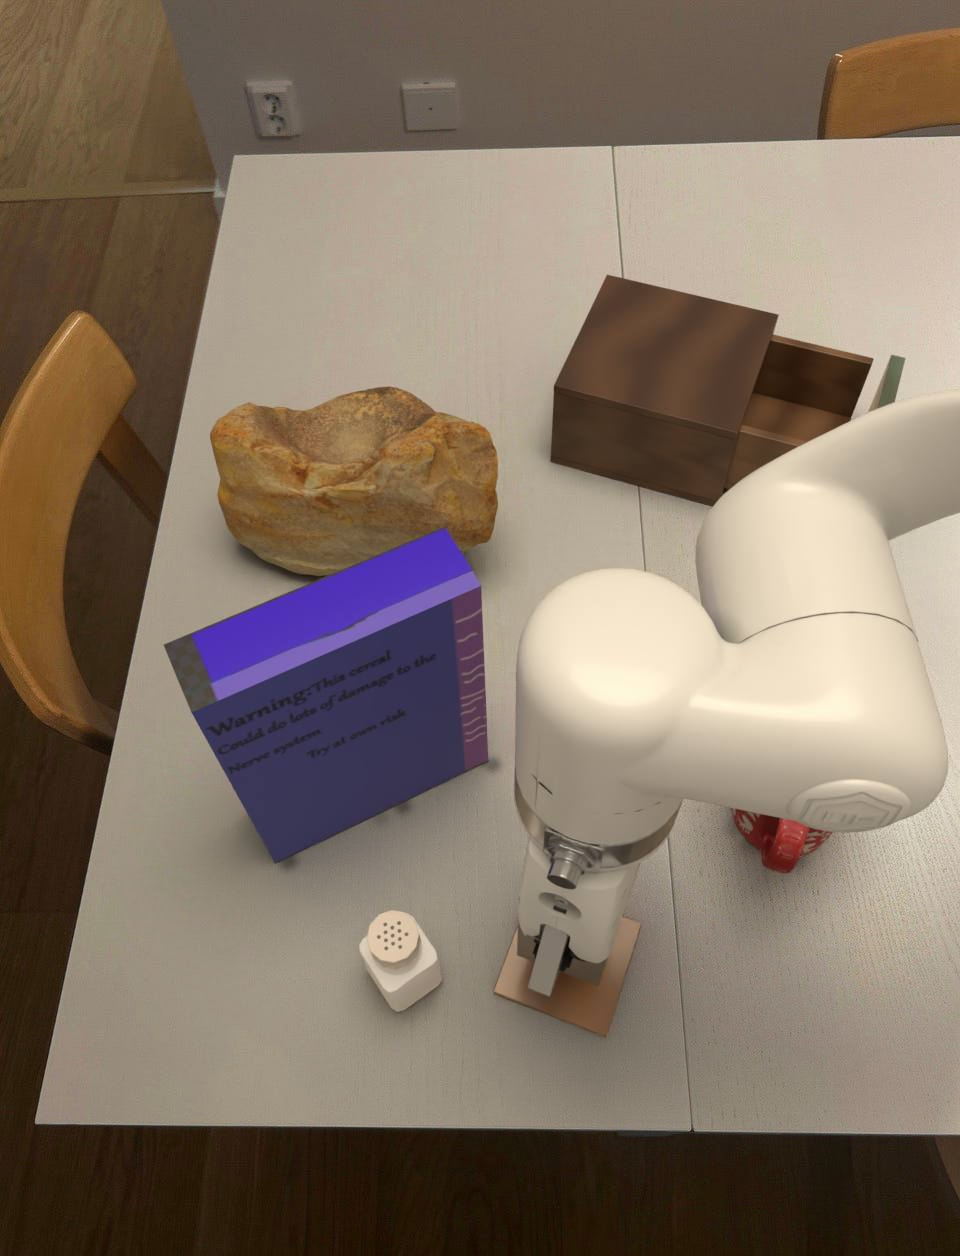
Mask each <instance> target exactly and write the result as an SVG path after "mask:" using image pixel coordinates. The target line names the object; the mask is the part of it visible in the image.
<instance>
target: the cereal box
mask: <svg viewBox="0 0 960 1256" xmlns="http://www.w3.org/2000/svg"><path fill="white" fill-rule="evenodd" d="M483 618H484V617H483V596H482V585H481V583H480V581H479V580H478V578H477V576H476V575H475V572H474V571H473V569H472V568H471V566H470V564H469V562H468V560H467V559H466V557H465V556H464V554H463V552H461V551H460V550H459V548H458V546H457V545H456V543H455V542H454V540H453V539H452V537H451V536H450V534H449V533H448V531H447V530H446V528H445V527H442V528H440V529H438V530H435V531H433V532H430V533H428V534H426V535H423V536H421V537H419V538H416V539H414V540H411V541H409V542H407V543H404V544H402V545H400V546H397V547H395V548H392V549H390V550H388V551H385V552H383V553H381V554H378V555H376V556H373V557H371V558H369V559H366V560H364V561H361V562H359V563H357V564H354V565H352V566H350V567H347V568H345V569H342V570H340V571H338V572H335V573H333V574H331V575H325V576H322V577H321V578H319V579H316V580H314V581H312V582H309V583H306V584H305V585H302V586H299V587H297V588H294V589H293V590H289V591H288V592H285V593H282V594H281V595H278V596H276V597H274V598H271V599H268V600H267V601H264V602H262V603H259V604H257V605H254V606H252V607H250V608H247V609H245V610H243V611H240V612H238V613H235V614H233V615H230V616H228V617H226V618H224V619H221V620H219V621H216V622H214V623H212V624H209V625H207V626H205V627H202V628H200V629H197V630H195V631H192V632H190V633H188V634H185V635H183V636H181V637H178V638H176V639H174V640H171V641H169V642H166V643H163V647H164V650H165V652H166V655H167V657H168V659H169V662H170V664H171V666H172V669H173V672H174V674H175V676H176V677H175V678H176V679H177V681H178V684H179V686H180V688H181V692H182V693H183V697H184V698H185V701H186V703H187V706H188V708H189V710H190V713H191V714H192V716H193V718H194V720H195V722H196V723H197V726H198V727H199V729H200V731H201V732H202V734H203V736H204V738H205V740H206V741H207V743H208V746H209V747H210V749H211V750H212V752H213V754H214V756H215V758H216V759H217V761H218V763H219V765H220V767H221V768H222V769H221V770H222V771H223V772H224V774H225V776H226V778H227V779H228V781H229V783H230V785H231V787H232V788H233V789H232V790H234V793H235V794H236V796H237V798H238V799H239V801H240V803H241V805H242V807H243V808H244V810H245V813H246V814H247V816H248V818H249V819H250V821H251V823H252V825H253V827H254V829H255V830H256V833H257V834H258V836H259V838H260V839H261V841H262V843H263V844H264V846H265V848H266V850H267V852H268V854H269V855H270V858H271V859H272V861H273V863H274V865H275V864H279V863H281V862H282V861H284V860H286V859H288V858H291V857H292V856H295V855H296V854H298V853H301V852H303V851H305V850H307V849H309V848H311V847H313V846H316V845H318V844H320V843H322V842H324V841H326V840H327V839H330V838H332V837H334V836H336V835H338V834H340V833H343V832H344V831H347V830H349V829H351V828H353V827H355V826H357V825H360V824H362V823H363V822H365V821H367V820H369V819H372V818H373V817H376V816H378V815H380V814H382V813H385V812H386V811H388V810H390V809H392V808H395V807H397V806H399V805H401V804H403V803H405V802H406V801H410V800H411V799H413V798H415V797H418V796H419V795H422V794H424V793H426V792H428V791H430V790H432V789H434V788H436V787H438V786H440V785H443V784H445V783H447V782H449V781H451V780H454V779H455V778H457V777H459V776H461V775H463V774H465V773H468V772H469V771H472V770H474V769H476V768H477V767H480V766H482V765H484V764H487V763H488V762H489V741H488V739H489V738H488V717H487V716H488V715H487V713H488V712H487V694H486V693H487V691H486V690H487V689H486V670H485V669H486V668H485V645H484V644H485V643H484V623H483V622H484V621H483V620H484V619H483Z"/></svg>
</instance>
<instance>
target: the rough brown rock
mask: <svg viewBox="0 0 960 1256" xmlns="http://www.w3.org/2000/svg"><path fill="white" fill-rule="evenodd" d="M209 439H210V444H211V449H212V453H213V457H214V461H215V465H216V468H217V471H218V474H219V484H218V489H217V494H216V495H217V500H218V504H219V507H220V510H221V511H222V515H223V518H224V521H225V525H226V527H227V528H228V531H229V532H230V534H231V535H232V536H233V537H234V539H236V541H237V542H238V543H239V544H241V545H242V546H244V547H246V548H247V549H249V550H250V551H252V552H253V554H255V555H256V556H257V557H258V558H259V559H261V560H263V561H265V562H267V563H269V564H271V565H272V564H273V565H276V566H278V567H280V568H283V569H284V570H288V571H289V572H291V573H295V574H298V575H309V576H310V575H311V576H316V577H325V576H328V575H331V574H333V573H335V572H338V571H340V570H342V569H345V568H347V567H350V566H352V565H354V564H357V563H359V562H361V561H364V560H366V559H369V558H371V557H373V556H376V555H378V554H381V553H383V552H385V551H388V550H390V549H392V548H395V547H397V546H400V545H402V544H404V543H407V542H409V541H411V540H414V539H416V538H419V537H421V536H423V535H426V534H428V533H430V532H433V531H435V530H438V529H440V528H442V527H445V528H446V530H447V531H448V533H449V534H450V536H451V537H452V539H453V540H454V542H455V543H456V545H457V546H458V548H459V550H460V551H461V553H464V552H466V551H467V550H470V549H473V547H475V546H478V545H483V544H486V543H488V542H489V541H490V539H491V537H492V535H493V533H494V530H495V524H496V523H495V522H496V517H497V512H498V507H499V501H498V500H499V499H498V494H497V483H498V475H499V459H498V452H497V449H496V447H495V445H494V442H493V438H492V436H491V432H490V431H489V430H488V429H487V427H485V426H483V425H482V424H480V423H478V422H474V421H468V420H466V419H464V418H461V417H458V416H456V415H452V414H449V413H446V412H442V411H435V409H434V408H433V407H431V406H430V405H429V404H427V403H426V402H425V401H423V400H422V399H420V398H419V397H417V396H416V395H415V394H413V392H410V391H407V390H405V389H401V388H398V387H395V386H378V387H372V388H367V389H364V390H357V391H352V392H349V393H345V394H341V395H337V396H335V397H334V398H331V399H329V400H327V401H325V402H323V403H321V404H319V405H317V406H314V407H313V408H310V409H309V408H308V409H305V410H298V409H291V408H289V407H285V406H276V407H270V406H267V405H266V406H265V405H257V404H254V403H252V402H246V403H244V404H241V405H238V406H236V407H234V408H232V409H231V410H230V411H228V412H227V413H226V414H225V415H223V416H221V417H220V418H218V419H217V420H216V421H215V423H214V425H213V426H212V429H211V430H210V433H209Z"/></svg>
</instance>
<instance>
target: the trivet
mask: <svg viewBox="0 0 960 1256" xmlns="http://www.w3.org/2000/svg"><path fill="white" fill-rule="evenodd" d="M641 927H642V922H640V921H637V920H634V919H633V918H632V919H631V918H629V917H626V916H624V915H623V917H622V920H621V923H620V926H619V929H618V932H617V935H616V938H615V941H614V944H613V946H612V949H611V952H610V954H609V956H608V959H607V962H606V965H605V968H604V971H603V974H602V978H601V981H600V984H599V986H596V985H593V984H591V983H588V982H586V981H583V980H580V979H578V978H575V977H573V976H570V975H567V974H565V973H562V972H560V971H559V974H558V977H557V980H556V983H555V985H554V988H553V990H552V993H551V996H550V997H547V996H545V995H542V994H539V993H537V992H534V991H532V990H529V989H527V988H528V984H529V981H530V977H531V973H532V970H533V966H534V963H535V962H533V961H531V960H528V959H526V958H523V957H520V956H518V955H517V937H518V925H517V926H516V928H515V930H514V934H513V936H512V939H511V942H510V945H509V947H508V950H507V953H506V956H505V959H504V961H503V964H502V967H501V969H500V971H499V975H498V978H497V980H496V982H495V985H494V987H493V990H492V992H493V994H494V995H497V996H499V997H501V998H503V999H507V1000H509V1001H511V1002H514V1003H517V1004H520V1005H522V1006H525V1007H527V1008H529V1009H532V1010H533V1011H534V1010H535V1011H537V1012H539V1013H542V1014H544V1015H548V1016H550V1017H553V1018H555V1019H557V1020H560V1021H562V1022H565V1023H568V1024H570V1025H573V1026H575V1027H578V1028H581V1029H582V1030H586V1031H587V1032H590V1033H593V1034H596V1035H598V1036H601V1037H603V1038H607V1037H608V1034H609V1031H610V1028H611V1025H612V1023H613V1022H612V1021H613V1018H614V1015H615V1012H616V1010H617V1009H616V1008H617V1005H618V1002H619V998H620V995H621V992H622V989H623V986H624V983H625V980H626V976H627V973H628V969H629V967H630V963H631V960H632V957H633V953H634V950H635V947H636V943H637V940H638V937H639V934H640V930H641Z"/></svg>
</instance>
